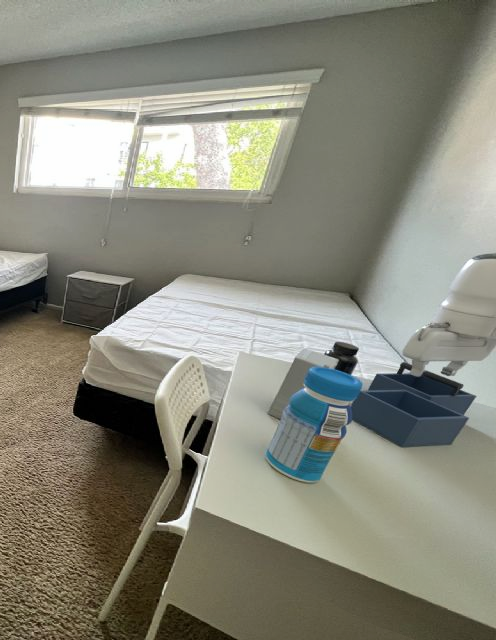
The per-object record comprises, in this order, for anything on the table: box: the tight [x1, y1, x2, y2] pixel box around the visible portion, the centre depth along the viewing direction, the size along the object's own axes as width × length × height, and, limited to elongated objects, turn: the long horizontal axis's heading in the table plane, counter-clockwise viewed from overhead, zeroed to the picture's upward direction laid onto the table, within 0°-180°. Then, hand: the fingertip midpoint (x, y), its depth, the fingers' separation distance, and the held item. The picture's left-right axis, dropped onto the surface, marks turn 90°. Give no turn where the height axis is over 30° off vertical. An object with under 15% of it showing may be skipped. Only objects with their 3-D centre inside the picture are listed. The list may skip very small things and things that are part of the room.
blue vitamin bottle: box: [265, 367, 363, 484], centre depth 62 cm, size 8×8×20 cm
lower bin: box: [350, 389, 470, 448], centre depth 78 cm, size 13×11×7 cm
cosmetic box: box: [267, 348, 339, 420], centre depth 79 cm, size 8×7×16 cm
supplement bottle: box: [323, 341, 360, 376], centre depth 97 cm, size 7×7×12 cm
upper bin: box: [367, 361, 477, 416], centre depth 87 cm, size 13×11×10 cm
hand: (431, 375), depth 85 cm, fingers open, 8 cm apart
